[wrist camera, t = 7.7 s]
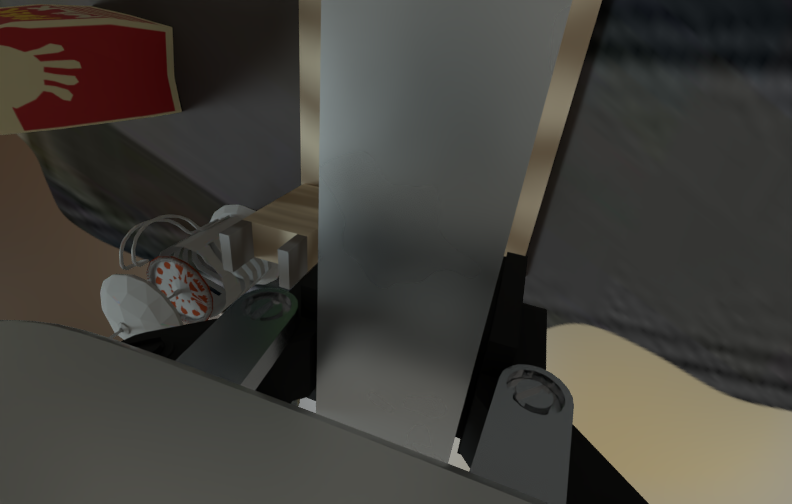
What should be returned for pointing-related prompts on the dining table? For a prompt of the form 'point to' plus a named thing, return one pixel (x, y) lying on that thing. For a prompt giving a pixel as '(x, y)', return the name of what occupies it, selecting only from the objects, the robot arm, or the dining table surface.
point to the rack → (299, 209)
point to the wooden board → (553, 120)
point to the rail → (419, 198)
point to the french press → (180, 279)
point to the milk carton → (82, 68)
